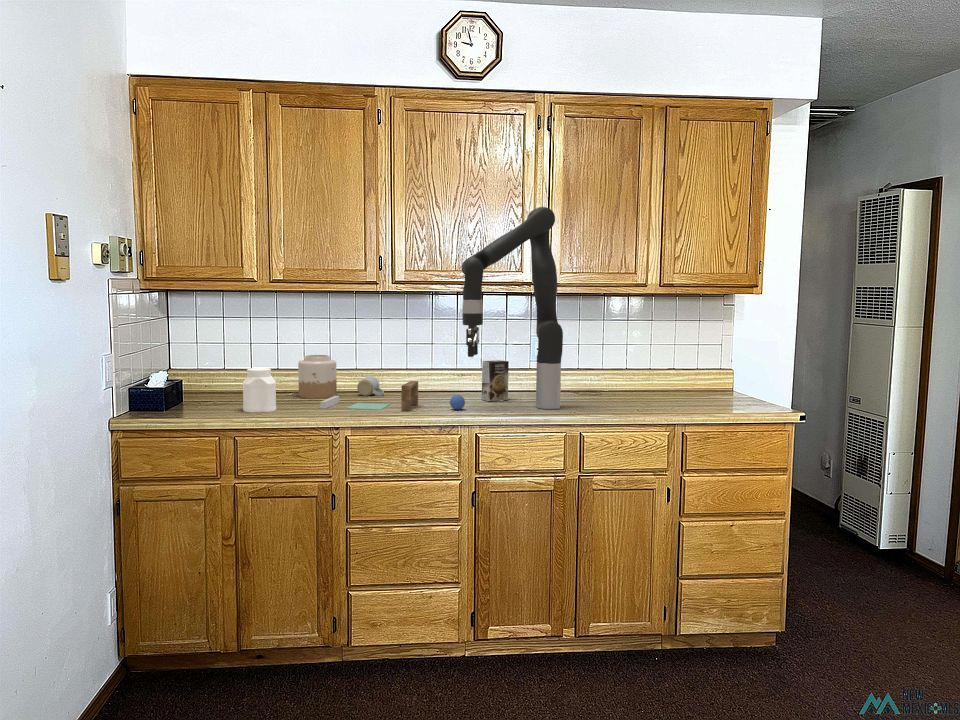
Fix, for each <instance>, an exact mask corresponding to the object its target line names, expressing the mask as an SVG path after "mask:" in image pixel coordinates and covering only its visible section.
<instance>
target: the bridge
mask: <svg viewBox="0 0 960 720" xmlns="http://www.w3.org/2000/svg"><path fill="white" fill-rule="evenodd" d="M400 398H401V403H400V404H401V405H400V406H401V409H400V410H401V412H411V410H412V408H411V407H417V406H419V380H410V381H408V382H406V383H403V384H401V397H400Z"/></svg>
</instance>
